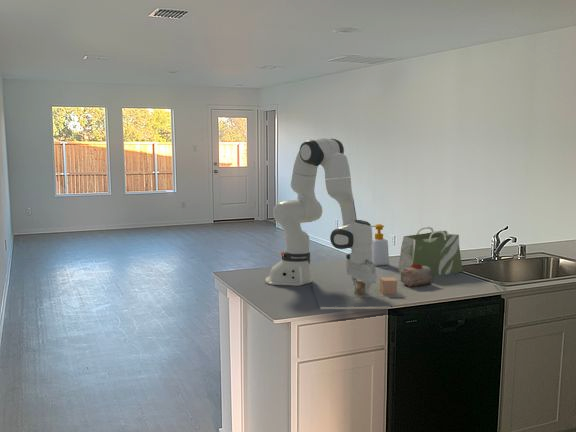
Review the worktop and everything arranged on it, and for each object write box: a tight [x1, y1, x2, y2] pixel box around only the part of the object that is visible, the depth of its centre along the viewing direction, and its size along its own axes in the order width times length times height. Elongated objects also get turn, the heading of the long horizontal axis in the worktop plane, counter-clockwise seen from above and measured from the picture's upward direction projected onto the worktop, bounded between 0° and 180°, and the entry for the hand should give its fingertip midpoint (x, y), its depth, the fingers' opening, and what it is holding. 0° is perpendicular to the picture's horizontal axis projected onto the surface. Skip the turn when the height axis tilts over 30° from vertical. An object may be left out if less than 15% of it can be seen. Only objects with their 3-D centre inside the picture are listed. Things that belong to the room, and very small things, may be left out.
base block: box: [379, 276, 398, 294], centre depth 241 cm, size 6×6×6 cm
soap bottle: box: [371, 223, 390, 267], centre depth 304 cm, size 10×14×22 cm
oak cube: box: [354, 280, 367, 294], centre depth 241 cm, size 4×4×4 cm
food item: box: [400, 263, 433, 288], centre depth 260 cm, size 14×8×10 cm, turn 115°
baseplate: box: [344, 287, 407, 298], centre depth 241 cm, size 24×14×1 cm, turn 93°
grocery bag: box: [397, 226, 464, 277], centre depth 285 cm, size 32×14×23 cm, turn 114°
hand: (360, 289), depth 241 cm, fingers open, 8 cm apart
